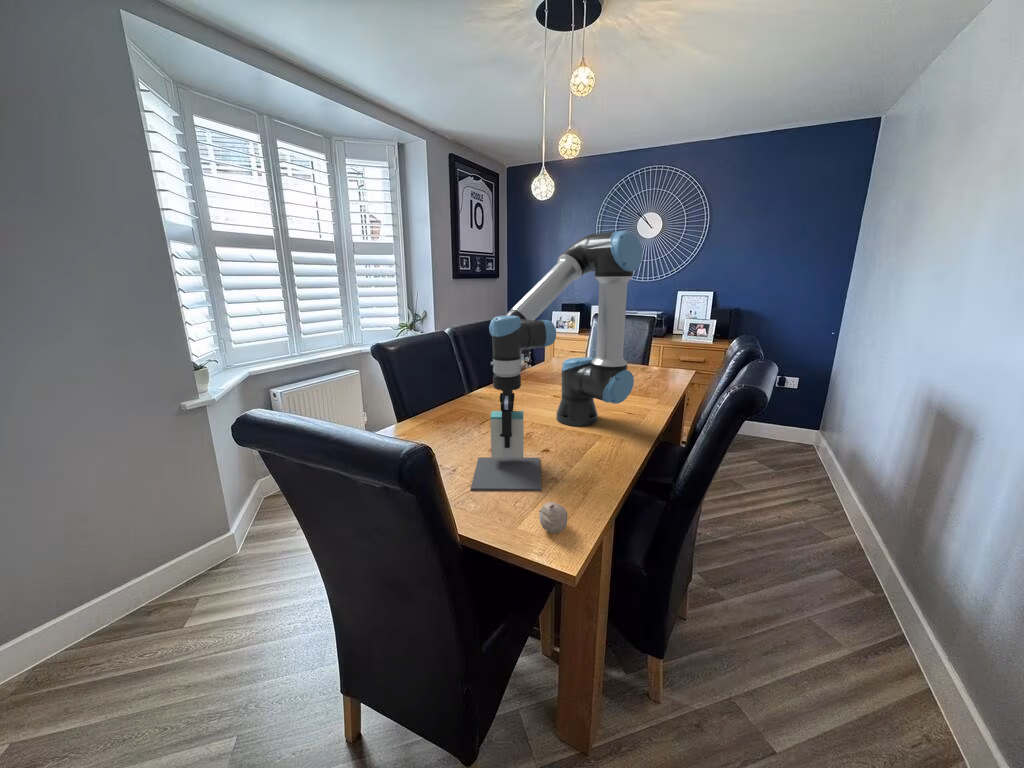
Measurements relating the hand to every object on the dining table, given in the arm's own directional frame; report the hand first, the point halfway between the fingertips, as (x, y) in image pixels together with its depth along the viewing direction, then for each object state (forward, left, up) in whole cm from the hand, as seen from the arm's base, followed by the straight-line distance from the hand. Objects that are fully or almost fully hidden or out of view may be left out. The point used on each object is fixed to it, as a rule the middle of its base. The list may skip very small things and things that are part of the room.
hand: (507, 452), depth 118 cm
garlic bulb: (-11, +31, -4) cm, 33 cm away
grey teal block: (0, 0, 0) cm, 0 cm away
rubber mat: (0, +6, -4) cm, 7 cm away
